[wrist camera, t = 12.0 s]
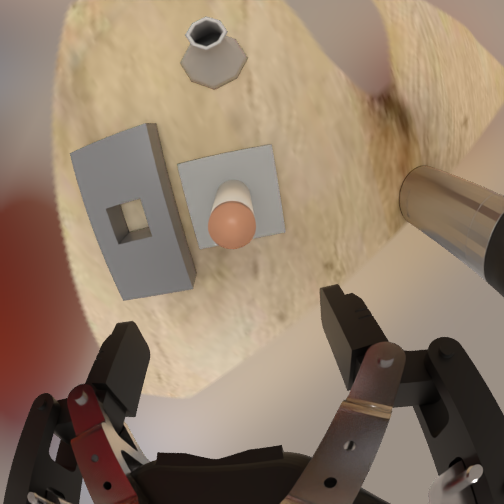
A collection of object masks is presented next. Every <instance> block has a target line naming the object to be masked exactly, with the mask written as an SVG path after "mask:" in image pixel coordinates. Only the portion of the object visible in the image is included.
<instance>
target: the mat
mask: <svg viewBox="0 0 504 504" xmlns="http://www.w3.org/2000/svg"><path fill="white" fill-rule="evenodd" d="M177 166H178V170H179V174H180V178H181V182H182V186H183V190H184V194H185V198H186V202H187V205H188V209H189V213H190V216H191V220H192V224H193V227H194V231H195V235H196V238H197V242H198V245H199V249H204V248H209V247H214V246H219V245H218V244H216V243H215V242H214V241H213V240H212V238H211V236H210V234H209V231H208V222H209V218H210V214H211V211H212V207H213V203H214V200H215V196H216V192H217V189H218V188H219V186H220V185H221V184H222V183H223V182H225V181H227V180H239V181H241V182H243V183H244V184H245V185H246V186H247V187H248V189H249V191H250V195H251V201H252V206H253V211H254V216H255V222H256V231H255V235H254V237H253V238H252V239H254V238H259V237H264V236H269V235H274V234H280V233H285V232H286V231H285V224H284V217H283V211H282V204H281V198H280V191H279V185H278V179H277V173H276V167H275V161H274V155H273V149H272V145H271V144H270V145H264V146H258V147H252V148H247V149H242V150H236V151H231V152H227V153H222V154H217V155H213V156H208V157H204V158H200V159H195V160H191V161H187V162H183V163H179V164H177Z"/></svg>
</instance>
